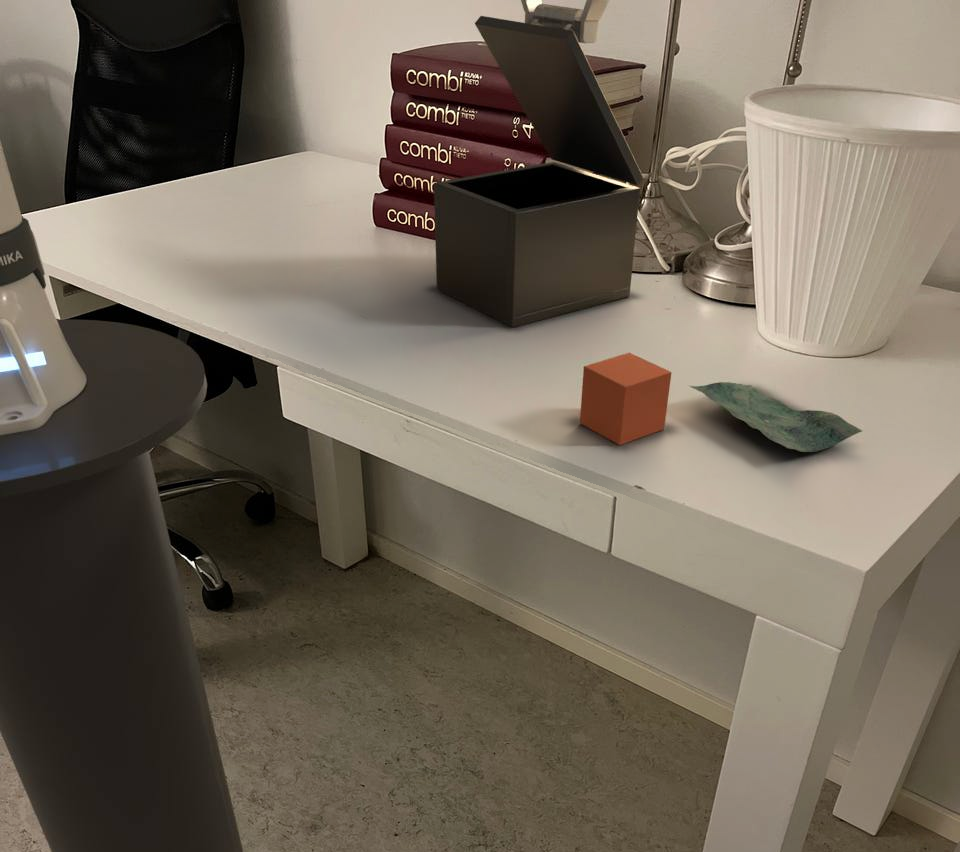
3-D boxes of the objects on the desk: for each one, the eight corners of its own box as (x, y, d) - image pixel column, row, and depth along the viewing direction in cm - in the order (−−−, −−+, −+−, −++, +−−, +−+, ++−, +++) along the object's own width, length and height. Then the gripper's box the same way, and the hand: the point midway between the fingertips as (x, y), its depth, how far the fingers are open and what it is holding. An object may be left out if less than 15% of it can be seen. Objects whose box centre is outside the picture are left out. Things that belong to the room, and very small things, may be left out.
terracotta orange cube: (619, 445, 78) (625, 387, 74) (579, 423, 81) (583, 366, 78) (664, 429, 80) (672, 371, 77) (623, 408, 83) (629, 352, 80)
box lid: (566, 39, 85) (604, -8, 85) (474, 23, 94) (509, -20, 93) (637, 185, 98) (671, 145, 98) (551, 159, 107) (582, 122, 107)
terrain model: (682, 404, 83) (685, 383, 82) (750, 389, 86) (755, 369, 85) (785, 467, 74) (791, 445, 73) (857, 449, 78) (864, 427, 76)
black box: (512, 327, 98) (515, 213, 91) (436, 289, 107) (433, 182, 100) (629, 296, 105) (640, 187, 98) (549, 263, 114) (553, 161, 107)
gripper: (471, -149, 89) (470, 28, 97) (621, -153, 76) (605, 53, 84) (526, -147, 91) (520, 25, 100) (679, -150, 78) (657, 48, 87)
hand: (560, 38), depth 92 cm, fingers closed on box lid, 6 cm apart
